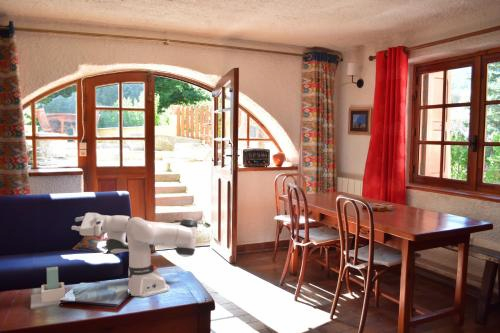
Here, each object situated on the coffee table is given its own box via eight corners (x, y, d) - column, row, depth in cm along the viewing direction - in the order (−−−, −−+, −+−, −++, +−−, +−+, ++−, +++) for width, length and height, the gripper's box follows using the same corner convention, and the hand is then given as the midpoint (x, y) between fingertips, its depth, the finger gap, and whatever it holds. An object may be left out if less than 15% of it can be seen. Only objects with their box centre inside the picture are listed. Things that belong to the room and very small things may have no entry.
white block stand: (73, 290, 225) (72, 278, 225) (76, 302, 209) (75, 289, 209) (31, 296, 216) (30, 284, 216) (30, 309, 200) (30, 295, 200)
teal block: (58, 295, 216) (57, 266, 215) (58, 298, 211) (57, 268, 210) (47, 296, 213) (46, 267, 213) (47, 299, 209) (46, 270, 208)
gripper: (103, 209, 237) (77, 209, 234) (97, 226, 218) (69, 227, 215) (103, 220, 239) (77, 220, 236) (98, 237, 220) (70, 237, 217)
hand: (73, 223), depth 225 cm, fingers open, 8 cm apart
